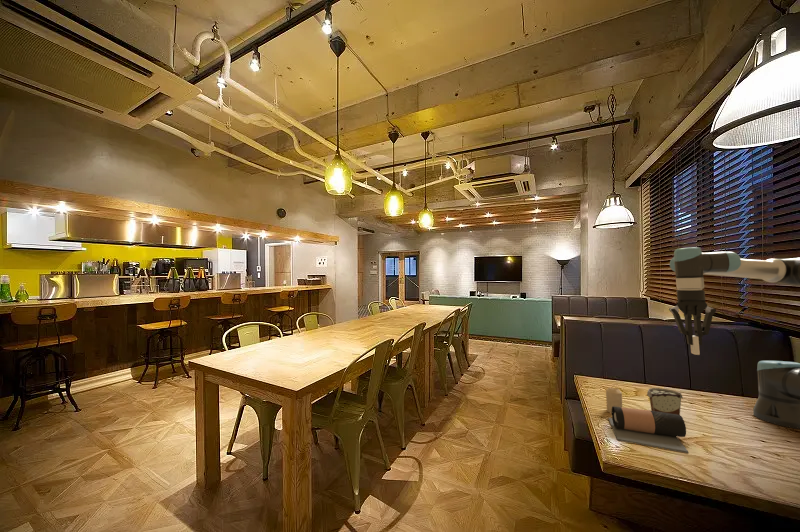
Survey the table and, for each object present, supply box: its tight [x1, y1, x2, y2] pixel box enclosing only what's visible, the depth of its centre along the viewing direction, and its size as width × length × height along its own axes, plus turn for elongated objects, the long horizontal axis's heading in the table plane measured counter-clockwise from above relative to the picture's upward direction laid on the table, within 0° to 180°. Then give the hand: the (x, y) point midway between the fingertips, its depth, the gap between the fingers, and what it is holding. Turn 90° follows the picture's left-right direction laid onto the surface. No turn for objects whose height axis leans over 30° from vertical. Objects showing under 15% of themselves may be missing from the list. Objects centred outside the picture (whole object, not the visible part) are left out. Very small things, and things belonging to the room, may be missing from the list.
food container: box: [646, 387, 684, 415], centre depth 128 cm, size 12×6×10 cm, turn 84°
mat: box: [607, 417, 689, 454], centre depth 112 cm, size 19×18×1 cm
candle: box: [605, 386, 623, 414], centre depth 131 cm, size 6×6×10 cm
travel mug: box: [611, 406, 687, 438], centre depth 112 cm, size 8×8×20 cm
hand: (695, 353), depth 113 cm, fingers closed
